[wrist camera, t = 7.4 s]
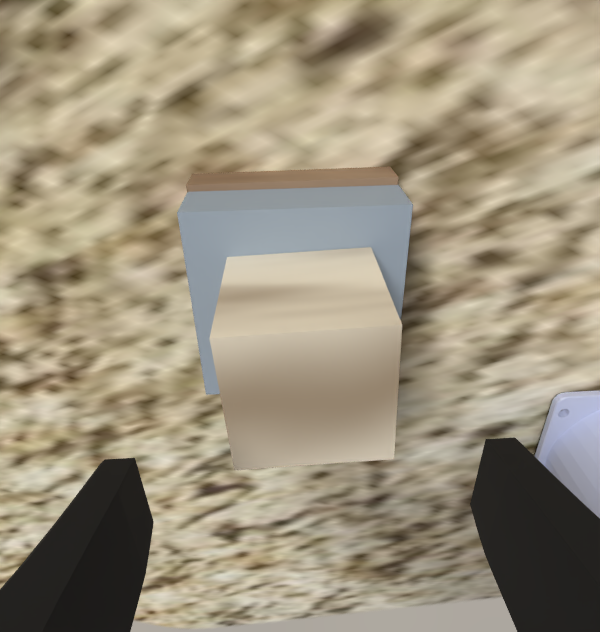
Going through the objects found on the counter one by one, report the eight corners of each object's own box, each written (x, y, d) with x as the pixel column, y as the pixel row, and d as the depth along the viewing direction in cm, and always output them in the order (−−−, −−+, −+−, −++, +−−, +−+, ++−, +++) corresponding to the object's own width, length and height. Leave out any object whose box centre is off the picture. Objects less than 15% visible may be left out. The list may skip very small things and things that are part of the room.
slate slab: (383, 354, 20) (394, 386, 18) (212, 361, 20) (206, 394, 18) (398, 185, 16) (412, 204, 14) (187, 191, 16) (177, 212, 14)
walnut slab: (375, 323, 21) (384, 349, 20) (216, 330, 21) (211, 357, 20) (386, 162, 18) (398, 177, 16) (194, 169, 18) (185, 185, 16)
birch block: (368, 362, 17) (394, 459, 14) (244, 370, 17) (234, 470, 14) (370, 246, 15) (402, 325, 11) (226, 257, 15) (209, 338, 11)
